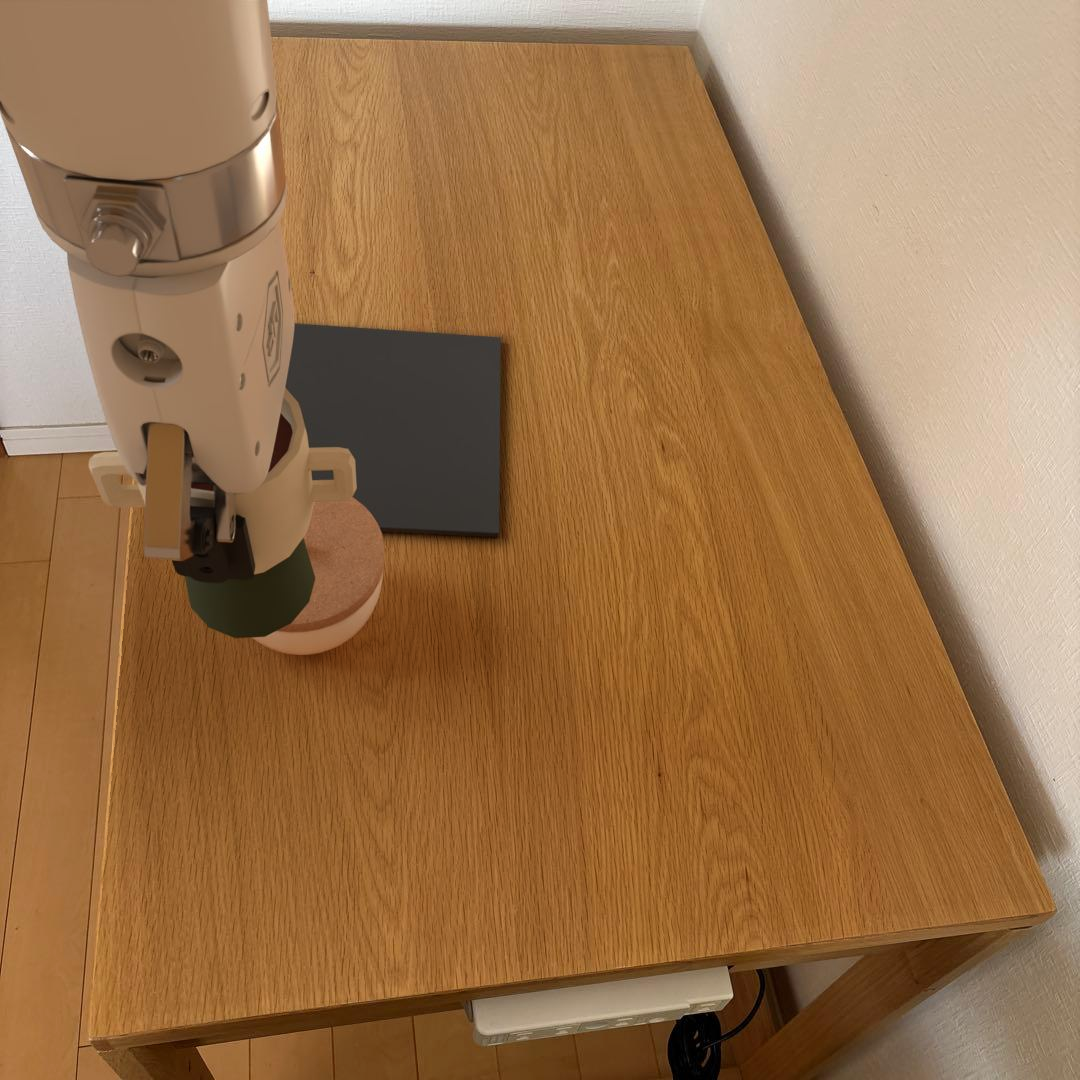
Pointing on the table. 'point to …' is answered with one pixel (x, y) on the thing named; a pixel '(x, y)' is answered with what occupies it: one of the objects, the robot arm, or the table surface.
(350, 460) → the character mug
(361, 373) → the mat
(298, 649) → the trinket box
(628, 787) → the table surface
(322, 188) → the table surface
